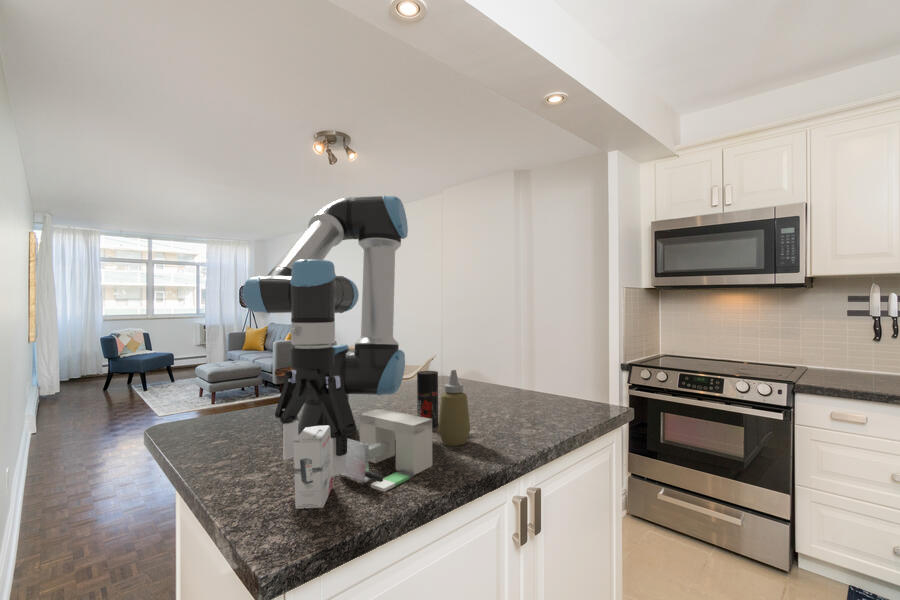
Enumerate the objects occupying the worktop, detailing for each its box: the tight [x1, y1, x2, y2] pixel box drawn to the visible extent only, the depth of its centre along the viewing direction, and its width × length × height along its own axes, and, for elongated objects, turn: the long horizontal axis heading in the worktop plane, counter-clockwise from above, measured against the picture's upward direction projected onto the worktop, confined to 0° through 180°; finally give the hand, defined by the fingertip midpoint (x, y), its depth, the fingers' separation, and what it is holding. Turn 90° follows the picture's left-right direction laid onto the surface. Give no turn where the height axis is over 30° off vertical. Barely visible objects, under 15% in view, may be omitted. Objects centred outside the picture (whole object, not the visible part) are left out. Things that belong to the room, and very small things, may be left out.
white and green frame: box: [359, 408, 433, 493], centre depth 90 cm, size 16×15×10 cm
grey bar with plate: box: [340, 437, 389, 483], centre depth 87 cm, size 12×10×7 cm
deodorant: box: [416, 370, 439, 429], centre depth 122 cm, size 6×6×15 cm
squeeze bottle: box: [437, 369, 471, 447], centre depth 107 cm, size 8×8×18 cm
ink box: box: [293, 425, 333, 510], centre depth 77 cm, size 9×5×12 cm, turn 5°
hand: (313, 465), depth 77 cm, fingers open, 13 cm apart
